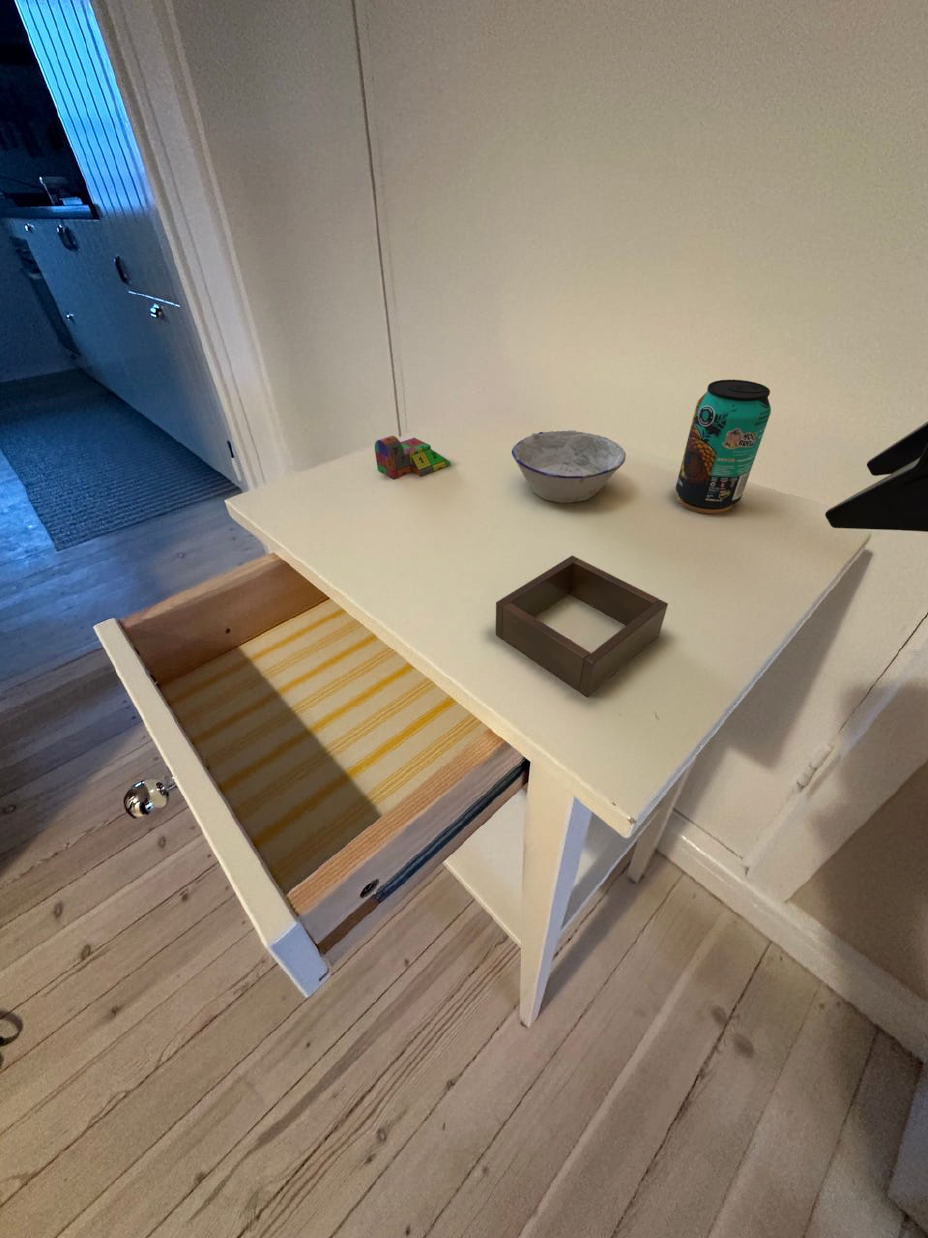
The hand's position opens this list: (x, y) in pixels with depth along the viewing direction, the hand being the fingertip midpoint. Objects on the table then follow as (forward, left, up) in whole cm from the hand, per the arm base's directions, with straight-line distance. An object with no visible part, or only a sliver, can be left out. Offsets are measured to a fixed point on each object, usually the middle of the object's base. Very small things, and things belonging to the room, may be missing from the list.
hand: (850, 492), depth 34 cm
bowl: (+28, -14, -13) cm, 34 cm away
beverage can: (+12, -20, -13) cm, 27 cm away
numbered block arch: (+47, -8, -13) cm, 49 cm away
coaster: (+13, -20, -13) cm, 27 cm away
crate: (+14, +9, -13) cm, 21 cm away
